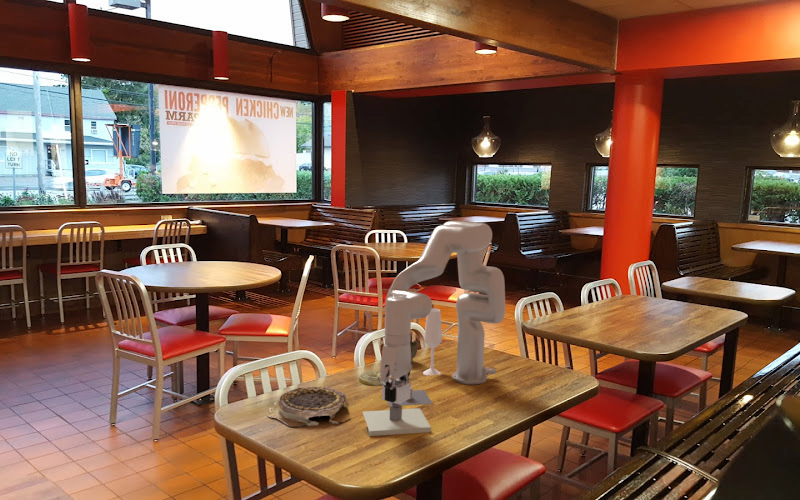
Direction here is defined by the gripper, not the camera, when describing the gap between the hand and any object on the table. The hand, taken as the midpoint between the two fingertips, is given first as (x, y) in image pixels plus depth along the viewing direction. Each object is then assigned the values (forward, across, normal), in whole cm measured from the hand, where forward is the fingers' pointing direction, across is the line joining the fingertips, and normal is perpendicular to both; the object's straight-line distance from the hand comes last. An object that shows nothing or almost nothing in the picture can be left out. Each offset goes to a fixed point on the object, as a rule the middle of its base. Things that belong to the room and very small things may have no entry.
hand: (396, 397), depth 181 cm
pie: (+9, +6, -27) cm, 29 cm away
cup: (+9, -51, -28) cm, 59 cm away
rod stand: (+8, -16, -6) cm, 19 cm away
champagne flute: (+9, -45, -14) cm, 48 cm away
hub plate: (+8, 0, 0) cm, 8 cm away
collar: (+1, 0, 0) cm, 1 cm away
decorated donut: (+9, -23, -25) cm, 35 cm away
